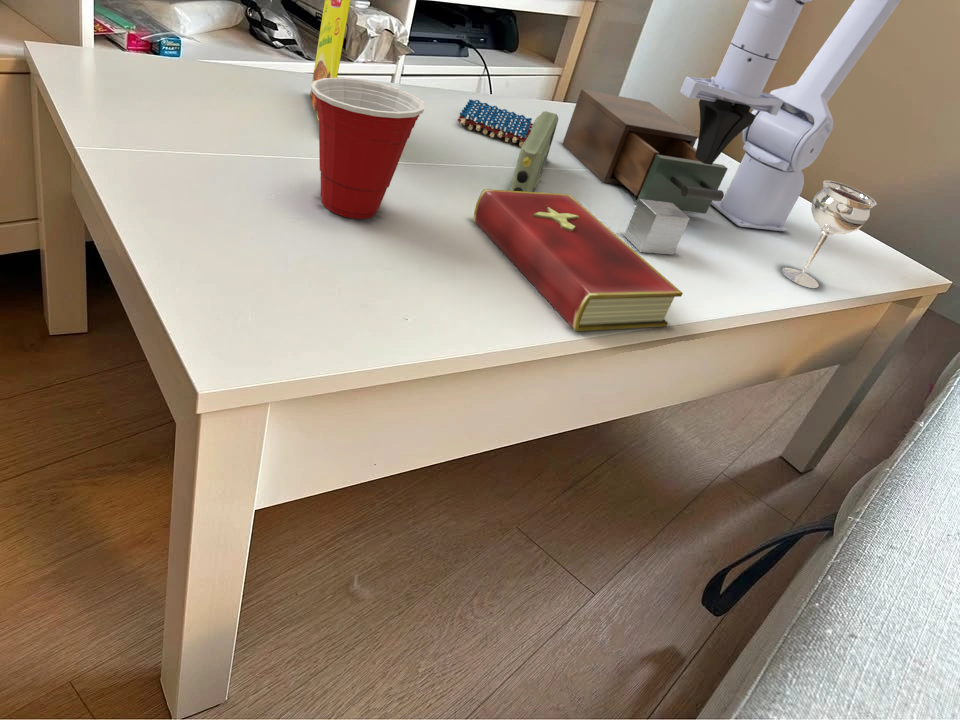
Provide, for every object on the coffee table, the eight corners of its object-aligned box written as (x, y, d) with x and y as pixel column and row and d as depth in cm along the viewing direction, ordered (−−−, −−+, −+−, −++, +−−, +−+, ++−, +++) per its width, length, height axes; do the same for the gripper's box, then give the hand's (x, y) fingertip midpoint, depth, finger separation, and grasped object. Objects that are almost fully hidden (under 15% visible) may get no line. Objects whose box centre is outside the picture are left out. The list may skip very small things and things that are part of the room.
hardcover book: (572, 331, 70) (588, 292, 68) (471, 221, 84) (481, 186, 82) (666, 326, 76) (684, 290, 74) (558, 224, 90) (569, 192, 88)
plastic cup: (340, 174, 84) (360, 65, 78) (418, 216, 81) (446, 106, 75) (270, 193, 76) (287, 73, 69) (355, 241, 73) (380, 119, 66)
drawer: (724, 228, 103) (747, 182, 99) (657, 221, 98) (679, 172, 94) (659, 175, 115) (678, 131, 111) (597, 166, 110) (614, 120, 106)
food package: (306, 94, 103) (331, -69, 92) (314, 96, 103) (340, -66, 92) (321, 139, 91) (352, -41, 81) (330, 140, 92) (362, -39, 81)
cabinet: (673, 192, 113) (698, 136, 109) (603, 182, 108) (626, 124, 103) (628, 154, 123) (649, 101, 118) (562, 143, 117) (581, 88, 113)
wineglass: (766, 268, 98) (814, 182, 91) (787, 261, 102) (834, 178, 96) (813, 296, 95) (866, 208, 88) (833, 286, 99) (884, 203, 93)
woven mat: (525, 150, 110) (529, 136, 109) (455, 126, 110) (458, 112, 108) (532, 130, 119) (536, 117, 118) (467, 108, 118) (470, 96, 117)
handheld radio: (549, 161, 109) (522, 223, 87) (526, 154, 109) (494, 214, 88) (562, 115, 105) (538, 168, 84) (539, 108, 105) (509, 159, 84)
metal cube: (656, 238, 96) (672, 202, 93) (673, 255, 93) (690, 218, 90) (623, 235, 93) (639, 198, 91) (640, 252, 90) (656, 214, 88)
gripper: (775, 51, 95) (725, 154, 102) (687, 29, 88) (641, 141, 95) (814, 70, 90) (759, 177, 97) (724, 48, 83) (672, 165, 90)
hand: (703, 161), depth 96 cm, fingers closed
